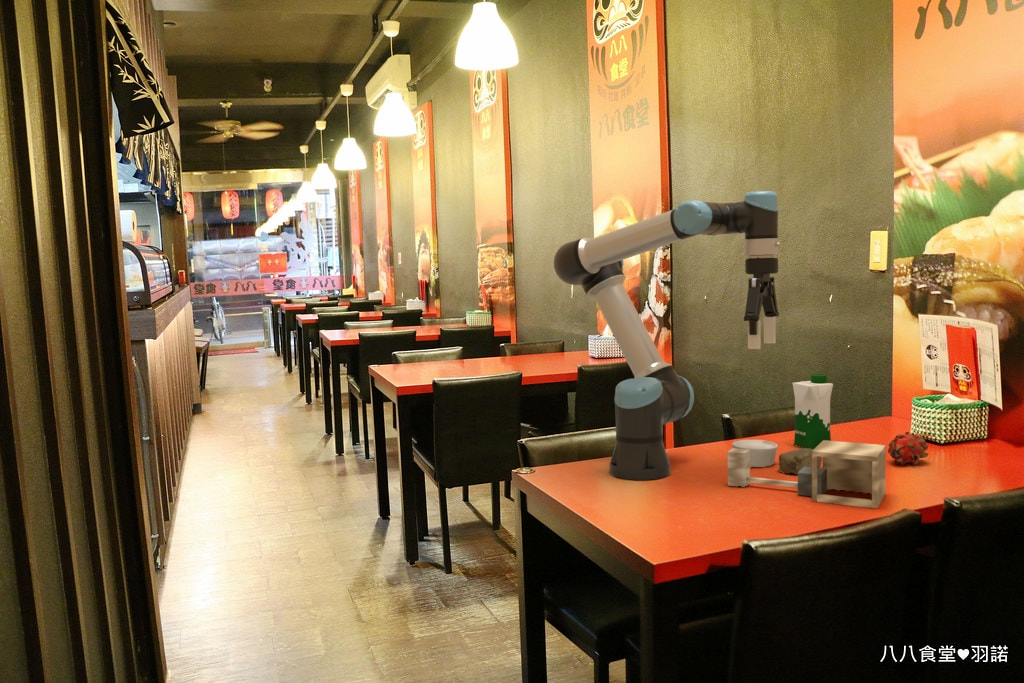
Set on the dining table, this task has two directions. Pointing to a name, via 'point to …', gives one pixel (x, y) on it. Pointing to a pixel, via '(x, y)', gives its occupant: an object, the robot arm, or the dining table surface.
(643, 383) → the robot arm
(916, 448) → the dragon fruit
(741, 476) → the tethered block
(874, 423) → the dining table surface
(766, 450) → the ramekin
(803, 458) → the stone block
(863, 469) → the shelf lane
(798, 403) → the milk carton
